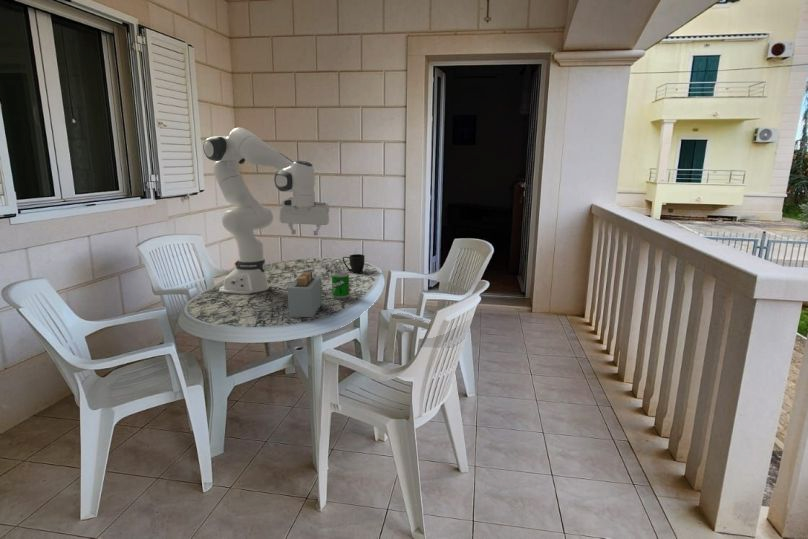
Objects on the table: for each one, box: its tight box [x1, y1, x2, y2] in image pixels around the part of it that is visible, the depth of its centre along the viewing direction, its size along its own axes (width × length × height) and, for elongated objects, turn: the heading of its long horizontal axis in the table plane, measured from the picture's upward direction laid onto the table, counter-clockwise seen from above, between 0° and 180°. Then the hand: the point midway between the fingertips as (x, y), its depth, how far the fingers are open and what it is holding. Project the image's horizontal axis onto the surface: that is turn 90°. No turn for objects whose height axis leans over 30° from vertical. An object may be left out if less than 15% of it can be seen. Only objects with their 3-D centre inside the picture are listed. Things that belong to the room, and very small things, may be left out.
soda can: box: [331, 269, 350, 300], centre depth 201 cm, size 8×8×12 cm
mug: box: [342, 253, 366, 274], centre depth 248 cm, size 8×12×10 cm
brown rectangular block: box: [296, 271, 313, 287], centre depth 182 cm, size 12×3×8 cm, turn 178°
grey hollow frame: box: [287, 276, 323, 318], centre depth 183 cm, size 9×18×12 cm, turn 178°
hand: (304, 234), depth 189 cm, fingers open, 8 cm apart
